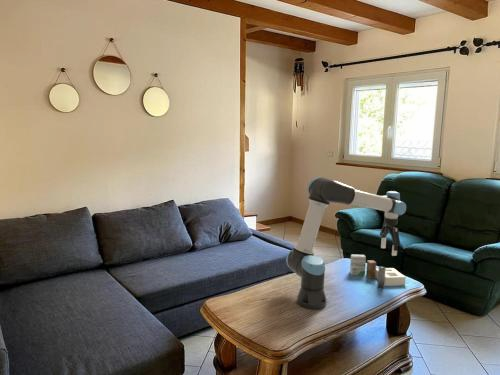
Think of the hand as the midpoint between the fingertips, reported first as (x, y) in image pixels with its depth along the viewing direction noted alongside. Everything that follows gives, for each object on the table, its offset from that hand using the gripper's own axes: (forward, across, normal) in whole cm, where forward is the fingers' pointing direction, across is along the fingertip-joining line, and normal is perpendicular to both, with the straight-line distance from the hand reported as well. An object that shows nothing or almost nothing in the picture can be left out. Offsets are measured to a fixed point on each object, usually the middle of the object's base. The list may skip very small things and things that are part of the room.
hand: (388, 251), depth 219 cm
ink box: (+17, +8, +15) cm, 24 cm away
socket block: (+17, -4, 0) cm, 17 cm away
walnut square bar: (+17, +2, +9) cm, 19 cm away
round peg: (+17, -13, +10) cm, 23 cm away
